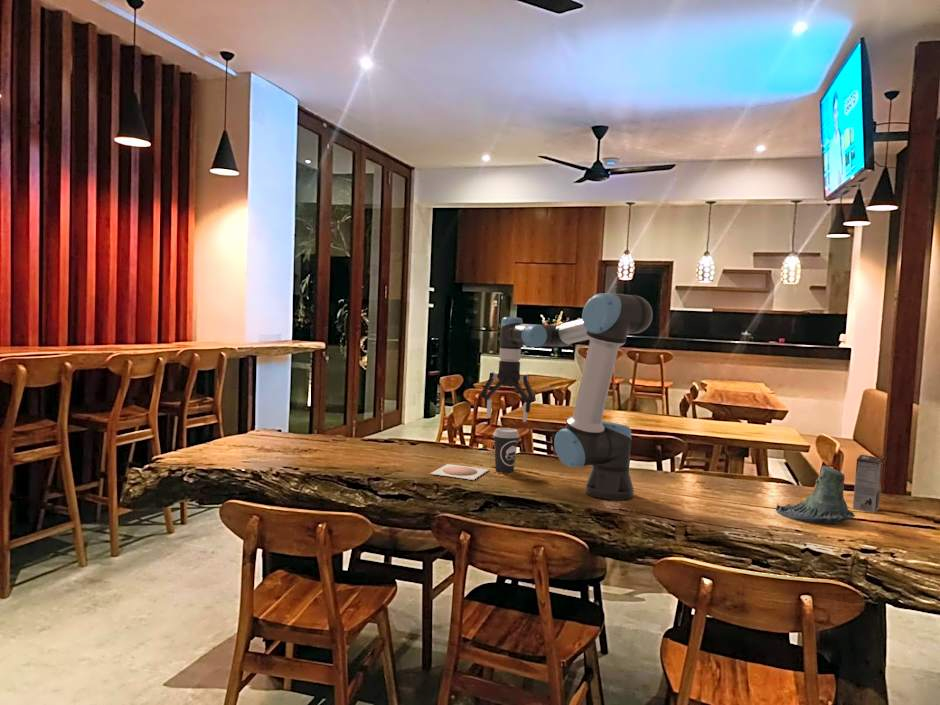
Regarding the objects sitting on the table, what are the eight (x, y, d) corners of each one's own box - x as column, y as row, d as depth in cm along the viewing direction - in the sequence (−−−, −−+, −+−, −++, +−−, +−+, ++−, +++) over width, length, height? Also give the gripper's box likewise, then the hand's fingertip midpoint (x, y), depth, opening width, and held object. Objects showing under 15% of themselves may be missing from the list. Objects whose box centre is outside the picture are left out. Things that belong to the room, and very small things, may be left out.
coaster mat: (488, 471, 228) (488, 468, 228) (473, 481, 213) (473, 478, 213) (447, 465, 234) (447, 463, 234) (429, 475, 219) (429, 472, 219)
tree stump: (784, 504, 204) (804, 452, 201) (852, 534, 192) (874, 480, 188) (766, 512, 190) (787, 457, 187) (838, 546, 178) (862, 487, 175)
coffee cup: (518, 468, 234) (520, 428, 233) (517, 475, 224) (519, 433, 223) (492, 467, 235) (494, 426, 234) (490, 473, 225) (492, 431, 224)
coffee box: (856, 503, 207) (860, 454, 206) (879, 507, 203) (884, 457, 202) (851, 509, 200) (855, 458, 199) (875, 513, 196) (880, 462, 195)
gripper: (546, 362, 226) (542, 421, 228) (480, 357, 235) (477, 414, 236) (541, 363, 219) (537, 424, 221) (473, 358, 228) (470, 417, 229)
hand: (506, 419), depth 228 cm, fingers open, 13 cm apart
